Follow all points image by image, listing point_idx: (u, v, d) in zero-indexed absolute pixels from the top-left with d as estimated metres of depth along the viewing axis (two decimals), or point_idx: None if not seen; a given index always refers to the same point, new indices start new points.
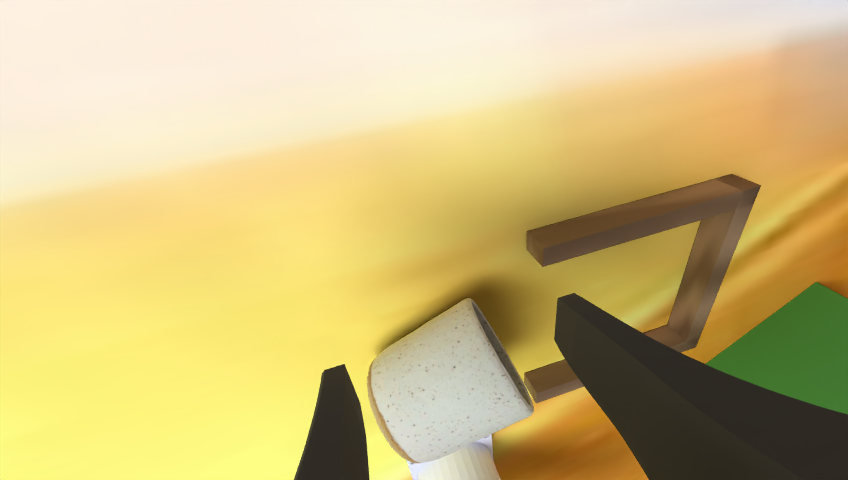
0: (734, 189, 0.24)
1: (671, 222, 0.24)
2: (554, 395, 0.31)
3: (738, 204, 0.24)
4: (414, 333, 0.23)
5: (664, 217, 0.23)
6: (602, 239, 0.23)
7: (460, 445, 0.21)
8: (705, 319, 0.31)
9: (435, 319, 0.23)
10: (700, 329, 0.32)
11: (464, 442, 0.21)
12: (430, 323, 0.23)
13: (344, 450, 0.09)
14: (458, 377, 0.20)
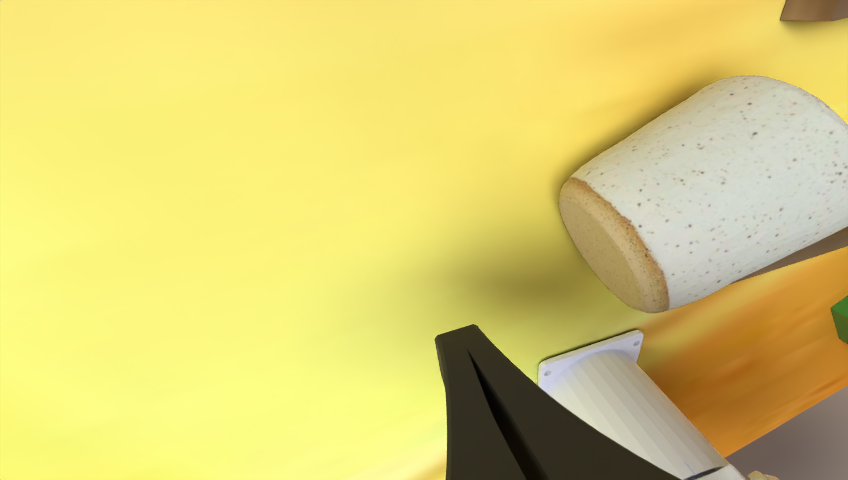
0: None
1: None
2: (747, 276, 0.23)
3: None
4: (636, 132, 0.16)
5: None
6: None
7: (742, 270, 0.14)
8: None
9: (667, 112, 0.16)
10: None
11: (751, 263, 0.14)
12: (662, 115, 0.16)
13: None
14: (766, 146, 0.12)
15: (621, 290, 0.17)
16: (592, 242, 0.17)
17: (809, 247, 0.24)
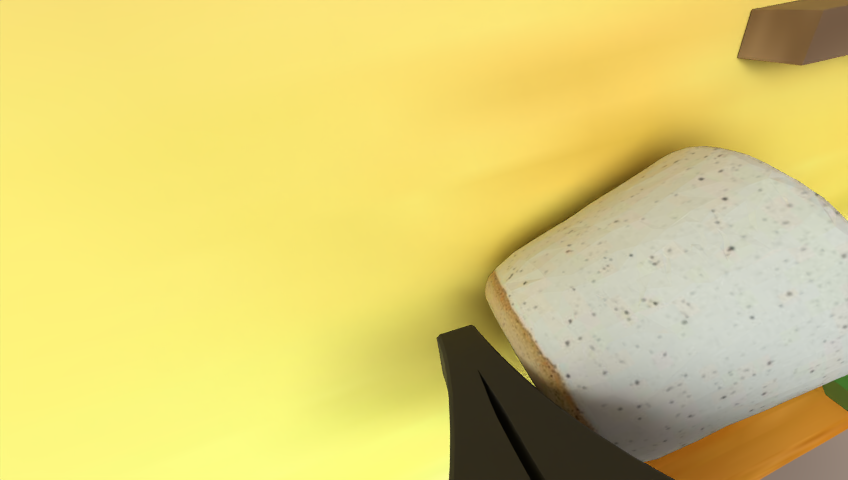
0: None
1: None
2: None
3: None
4: (579, 215, 0.12)
5: None
6: None
7: (716, 430, 0.10)
8: None
9: (619, 188, 0.12)
10: None
11: (728, 423, 0.10)
12: (612, 194, 0.12)
13: None
14: (747, 269, 0.08)
15: None
16: None
17: None
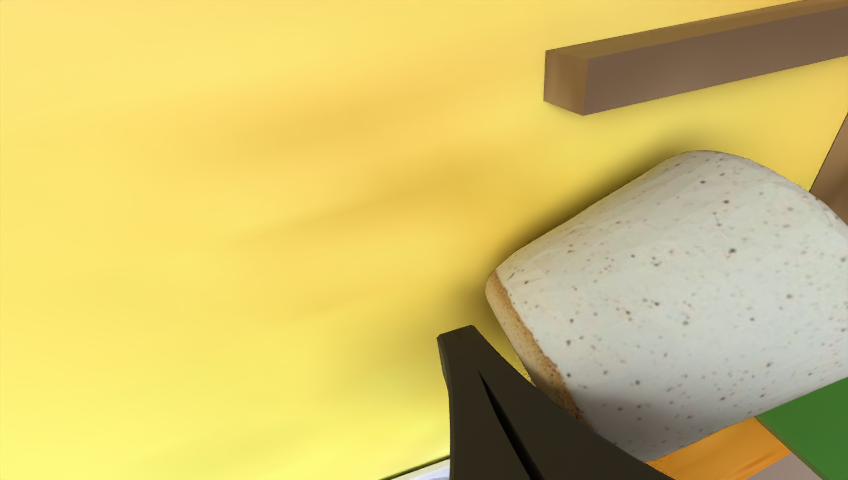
0: None
1: None
2: None
3: None
4: (580, 216, 0.12)
5: None
6: (716, 57, 0.10)
7: (714, 431, 0.10)
8: None
9: (621, 190, 0.12)
10: None
11: (726, 425, 0.10)
12: (614, 196, 0.12)
13: None
14: (748, 271, 0.09)
15: None
16: None
17: None
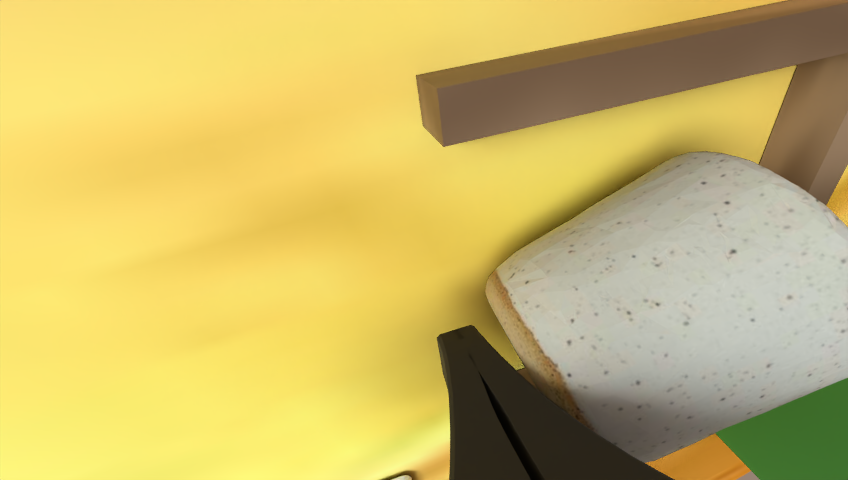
0: None
1: (747, 57, 0.10)
2: None
3: None
4: (581, 217, 0.12)
5: (734, 39, 0.10)
6: (588, 83, 0.10)
7: (713, 432, 0.10)
8: None
9: (621, 191, 0.12)
10: None
11: (726, 425, 0.10)
12: (614, 196, 0.12)
13: None
14: (749, 272, 0.09)
15: None
16: None
17: None
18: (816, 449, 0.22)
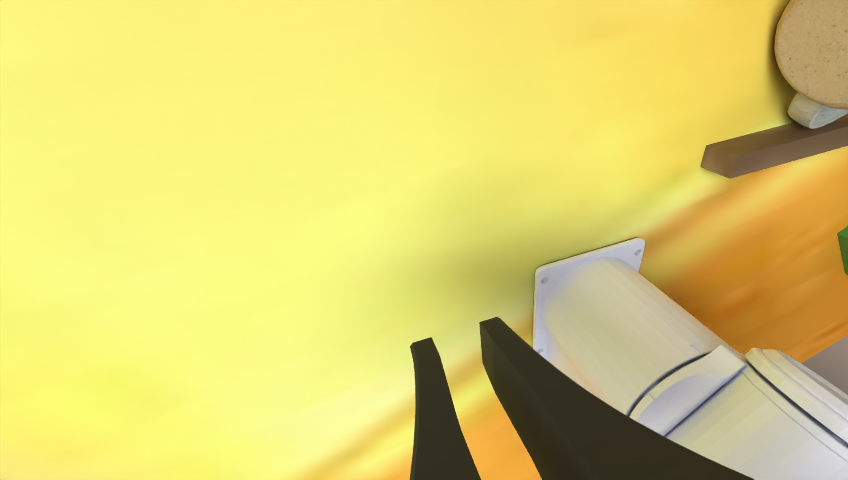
0: None
1: None
2: (754, 169, 0.22)
3: None
4: None
5: None
6: None
7: None
8: None
9: None
10: None
11: None
12: None
13: None
14: None
15: None
16: (832, 42, 0.18)
17: (819, 139, 0.22)
18: None
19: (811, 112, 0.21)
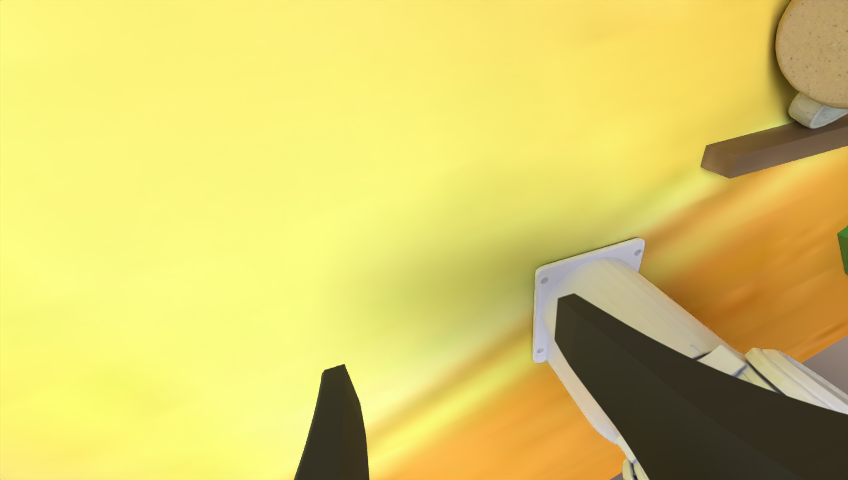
0: None
1: None
2: (754, 169, 0.22)
3: None
4: None
5: None
6: None
7: None
8: None
9: None
10: None
11: None
12: None
13: (344, 450, 0.09)
14: None
15: None
16: (832, 42, 0.18)
17: (819, 139, 0.22)
18: None
19: (812, 112, 0.21)
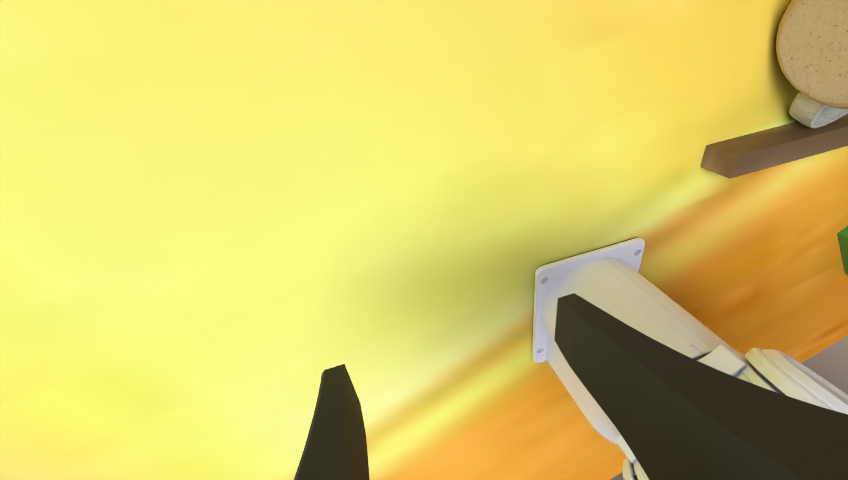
0: None
1: None
2: (754, 169, 0.22)
3: None
4: None
5: None
6: None
7: None
8: None
9: None
10: None
11: None
12: None
13: (344, 450, 0.09)
14: None
15: None
16: (833, 42, 0.18)
17: (819, 139, 0.22)
18: None
19: (813, 112, 0.21)
